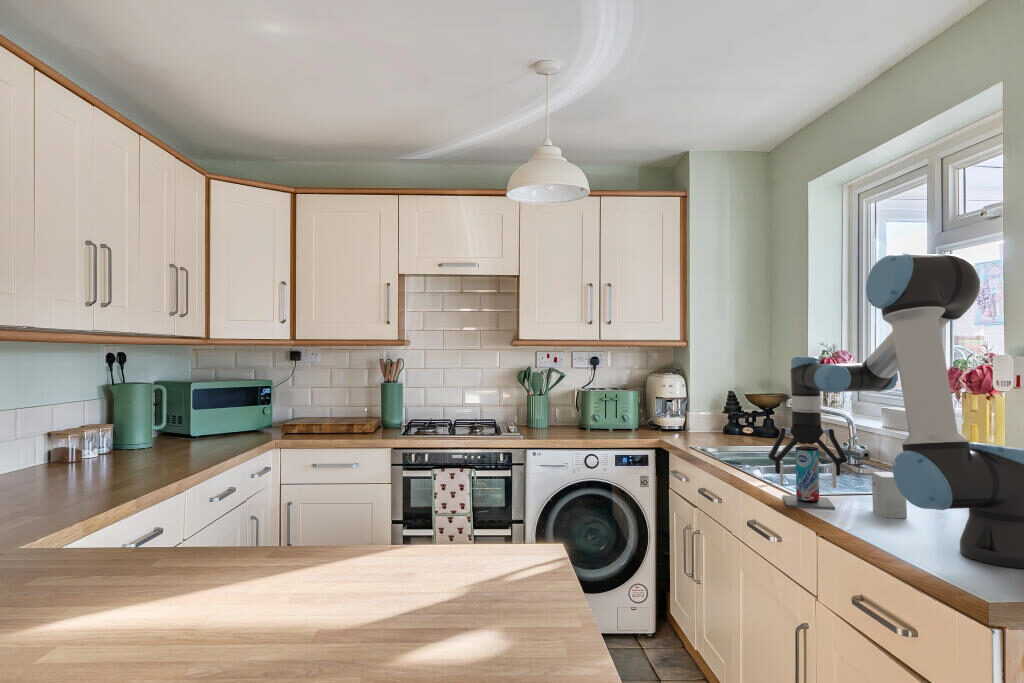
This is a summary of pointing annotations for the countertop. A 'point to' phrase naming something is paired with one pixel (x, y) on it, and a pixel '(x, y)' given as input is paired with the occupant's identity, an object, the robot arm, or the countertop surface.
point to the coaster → (821, 504)
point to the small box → (887, 496)
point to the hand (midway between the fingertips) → (807, 486)
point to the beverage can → (807, 474)
